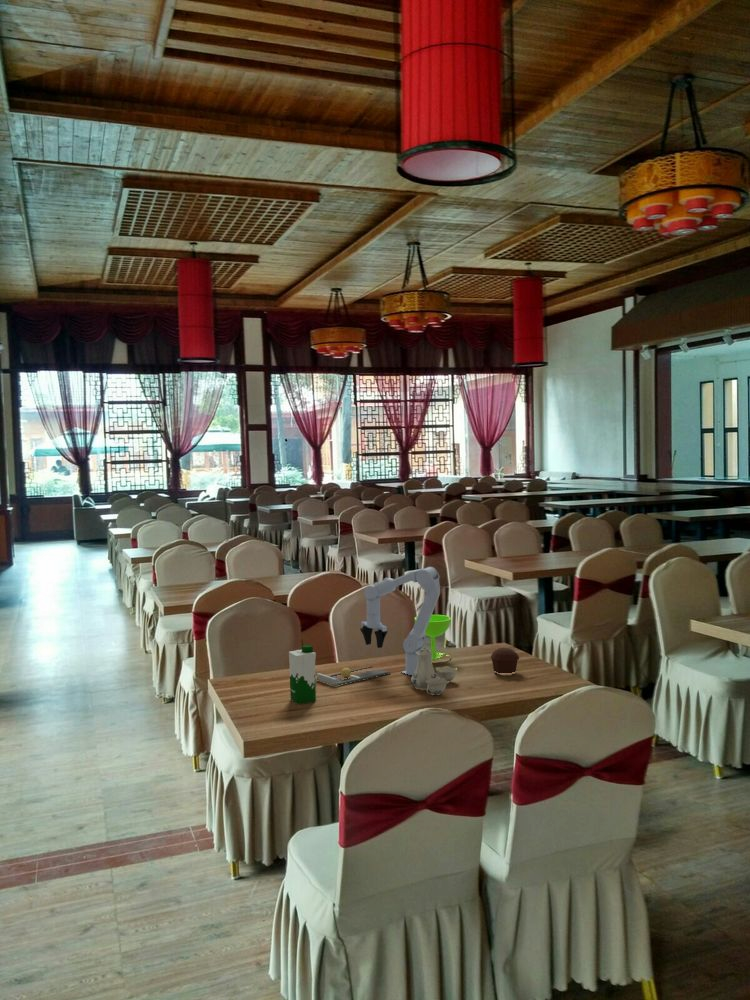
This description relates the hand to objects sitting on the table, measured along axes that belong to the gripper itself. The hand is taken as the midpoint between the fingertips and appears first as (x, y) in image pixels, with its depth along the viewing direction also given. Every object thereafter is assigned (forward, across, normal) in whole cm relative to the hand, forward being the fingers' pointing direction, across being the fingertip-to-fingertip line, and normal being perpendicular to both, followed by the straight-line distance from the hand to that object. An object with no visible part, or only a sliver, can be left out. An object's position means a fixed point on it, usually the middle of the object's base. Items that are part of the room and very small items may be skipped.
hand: (374, 646), depth 339 cm
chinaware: (+10, -36, +1) cm, 38 cm away
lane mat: (+10, -4, +14) cm, 18 cm away
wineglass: (+10, -4, -30) cm, 32 cm away
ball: (+7, -4, +18) cm, 20 cm away
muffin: (+10, -41, -35) cm, 55 cm away
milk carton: (+10, -16, +47) cm, 51 cm away
